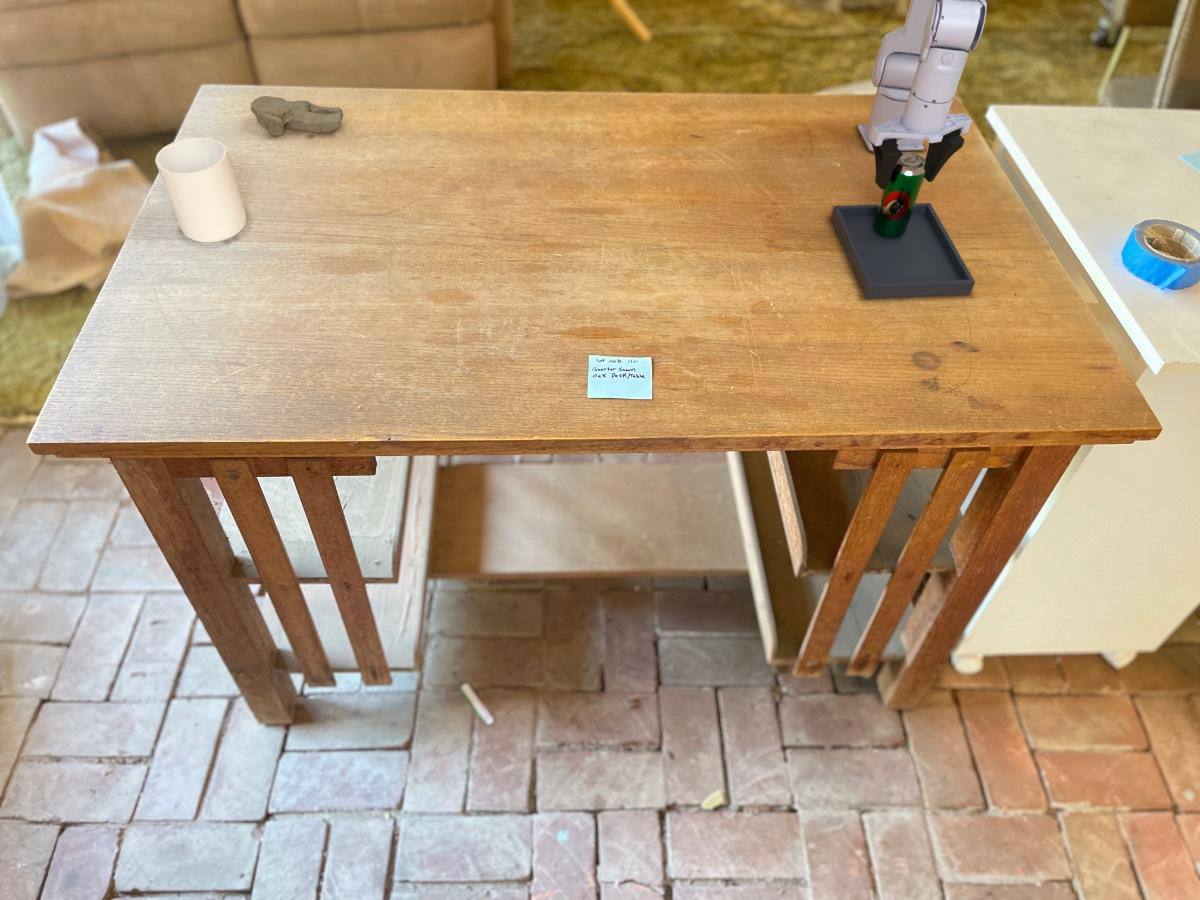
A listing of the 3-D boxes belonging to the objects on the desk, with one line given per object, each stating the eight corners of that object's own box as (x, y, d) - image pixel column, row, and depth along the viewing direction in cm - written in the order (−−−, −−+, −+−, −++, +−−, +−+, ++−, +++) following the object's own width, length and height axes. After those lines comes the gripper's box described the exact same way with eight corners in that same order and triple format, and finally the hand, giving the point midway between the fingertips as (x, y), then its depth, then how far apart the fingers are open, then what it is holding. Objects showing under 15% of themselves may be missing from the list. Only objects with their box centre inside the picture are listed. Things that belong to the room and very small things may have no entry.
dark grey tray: (925, 215, 144) (930, 202, 142) (970, 295, 131) (975, 282, 129) (830, 218, 142) (833, 205, 140) (865, 299, 130) (869, 286, 128)
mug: (176, 246, 133) (149, 175, 124) (190, 199, 141) (165, 129, 132) (244, 243, 134) (221, 172, 125) (253, 196, 142) (233, 126, 133)
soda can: (911, 237, 138) (935, 167, 129) (881, 242, 137) (903, 171, 128) (895, 218, 141) (917, 148, 132) (865, 223, 140) (886, 152, 131)
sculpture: (349, 121, 158) (260, 112, 157) (346, 96, 154) (255, 86, 153) (342, 145, 154) (250, 136, 153) (339, 120, 150) (245, 111, 149)
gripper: (898, 114, 119) (872, 204, 129) (995, 101, 122) (962, 190, 132) (873, 88, 123) (849, 177, 133) (967, 75, 126) (937, 163, 136)
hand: (903, 181), depth 133 cm, fingers open, 7 cm apart
